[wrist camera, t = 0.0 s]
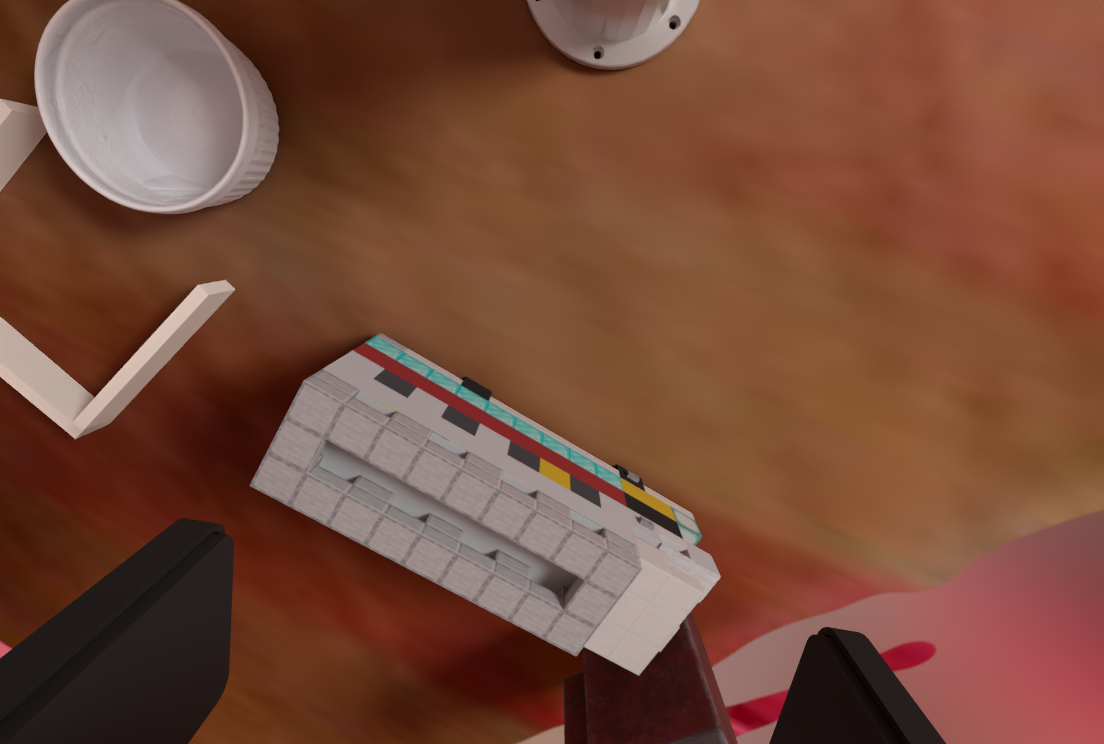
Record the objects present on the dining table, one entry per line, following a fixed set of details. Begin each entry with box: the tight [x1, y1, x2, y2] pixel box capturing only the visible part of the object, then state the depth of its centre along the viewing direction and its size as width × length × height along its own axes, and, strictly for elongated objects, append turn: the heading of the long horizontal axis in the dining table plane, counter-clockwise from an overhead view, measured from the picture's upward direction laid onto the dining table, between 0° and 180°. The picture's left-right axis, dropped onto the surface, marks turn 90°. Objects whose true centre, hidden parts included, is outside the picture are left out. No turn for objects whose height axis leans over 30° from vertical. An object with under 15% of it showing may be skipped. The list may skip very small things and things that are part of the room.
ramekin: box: [34, 0, 279, 214], centre depth 38 cm, size 13×13×7 cm
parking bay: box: [0, 99, 235, 439], centre depth 42 cm, size 17×18×4 cm
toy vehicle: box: [250, 333, 721, 675], centre depth 41 cm, size 8×30×15 cm, turn 59°
